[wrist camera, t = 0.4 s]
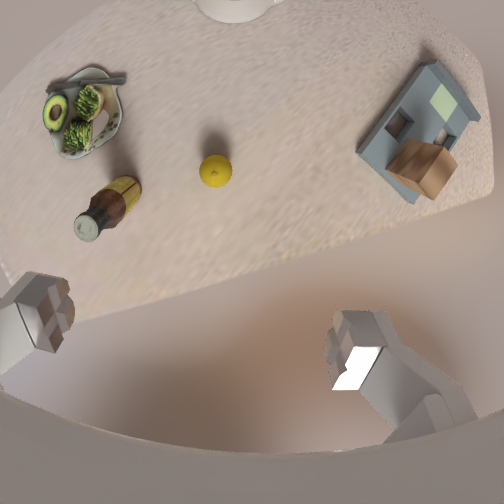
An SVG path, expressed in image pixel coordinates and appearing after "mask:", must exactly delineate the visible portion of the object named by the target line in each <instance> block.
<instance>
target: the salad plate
mask: <svg viewBox="0 0 504 504" xmlns="http://www.w3.org/2000/svg"><path fill="white" fill-rule="evenodd" d="M125 82H126V78H125V77H122V76H121V77H110V76H109V75H107V73H106V72H104V71H103V70H100V69H97V68H86V69H84V70H82V71H80V72H79V73H77V74H76V75H74V76H73V77H71V78H70V79H68V80H67V81H66V82H64V83H56V84H52V85H50V86H48V88H47V89H46V93H48V94H49V96H48V99H47V101H46V104H45V106H44V110H43V121H44V125H45V127H46V128H47V129H48V130H49V132H50V135H51V138H52V140H53V143H54V146H55V148H56V150H57V152H58V153H59V155H61V156H62V157H64V158H67V159H78V158H81V157H83V156H86V155H87V154H89V153H90V152H91V151H92V150H94V149H96V148H97V147H99V146H100V145H102V144H103V143H105V142H106V141H108V140H109V139H111V138H112V137H113V136H114V135H115V133H116V132H117V130H118V129H119V126H120V124H121V121H122V118H123V114H122V109H121V105H120V102H119V98H118V96H117V91H116V88H117V87H118V86H122V85H124V84H125ZM103 109H104V110H106V111H107V113H108V114H109V120H108V123H107V125H106V126H105V128H104V130H103V131H102V132H101V133H100V134H99V135H98V136H97V137H96V138H94V139H93V140H91V137H92V121H93V119H94V118H96V117H97V116H98V115H99V114H100V113H101V111H102V110H103ZM78 120H79V121H78Z"/></svg>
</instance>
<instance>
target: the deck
mask: <svg viewBox="0 0 504 504" xmlns="http://www.w3.org/2000/svg"><path fill="white" fill-rule="evenodd" d="M396 111H398V112H399V113H400V114H401V115H402V116H403V117H404V118H405V119H406V120H407V122H406V124H405V125H404V127H403V128H402V129H401V131H400V132H399V133H398V135H397V136H396V138H395V139H394V138H393V137H392V136H391V135H390V134H389V133H388V132H387V131H386V130H385V129H384V128H385V126H386V125H387V123H388V122H389V121H390V119H391V118H392V117H393V115H394V114H395V113H396ZM480 118H481V116H480V115H479V113H478V112H477V110H476V109H475V107H474V106H473V104H472V103H471V101H470V100H469V99H468V97H467V96H466V95H465V93H464V92H463V90H462V89H461V88H460V86H459V85H458V84H457V83H456V81H455V80H454V79H453V77H452V76H451V75H450V74H449V72H448V71H447V70H446V69H445V68H444V66H443V65H442V64H441V63H440V62H439V61H438V60H433V61H427V62H422V63H421V64H420V65H419V67H418V68H417V69H416V71H415V72H414V74H413V75H412V76H411V78H410V79H409V81H408V82H407V83H406V85H405V86H404V87H403V89H402V90H401V92H400V93H399V94H398V96H397V97H396V98H395V100H394V101H393V102H392V104H391V105H390V107H389V108H388V109H387V111H386V112H385V113H384V115H383V116H382V117H381V119H380V120H379V121H378V123H377V124H376V125H375V127H374V128H373V129H372V131H371V132H370V133H369V135H368V136H367V137H366V139H365V140H364V141H363V143H362V144H361V145H360V147H359V148H358V149H357V151H356V153H357V154H358V155H359V156H360V157H361V158H362V159H363V160H364V161H366V162H367V163H368V164H369V165H370V166H371V167H372V168H373V169H374V170H375V171H376V172H377V173H378V174H380V175H381V176H382V177H383V178H384V179H385V180H386V181H387V182H388V183H389V184H390V185H391V186H392V187H393V188H394V189H395V190H396V191H397V192H398V193H399V194H400V195H401V196H402V197H403V198H404V199H405V200H406V201H407V202H409V203H411V204H414V203H415V201H416V200H417V199H418V197H419V196H420V193H418V192H416V191H414V190H412V189H409V188H407V187H405V186H403V185H401V184H399V183H398V182H397V181H396V180H395V179H394V178H393V177H392V176H391V175H390V174H389V173H388V172H387V171H386V170H385V169H386V167H387V166H388V165H389V163H390V162H391V161H392V159H393V158H394V156H395V155H396V154H397V152H398V151H399V150H400V148H401V147H402V145H403V144H404V143H405V141H406V140H407V139H411V140H416V141H421V142H426V143H430V144H434V143H433V141H434V140H435V138H436V137H437V135H438V134H439V132H440V131H441V129H442V128H444V130H445V131H446V132H447V134H448V135H449V136H448V138H447V140H446V141H445V143H444V144H443V147H445V148H446V149H447V151H448V152H449V153H450V151H451V150H452V148H453V146H454V145H455V143H456V142H457V140H458V139H459V137H460V135H461V134H462V132H463V131H464V129H465V127H466V126H467V124H468V122H469V121H470V120H471V121H478V122H479V120H480Z"/></svg>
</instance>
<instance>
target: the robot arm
mask: <svg viewBox="0 0 504 504" xmlns="http://www.w3.org/2000/svg"><path fill="white" fill-rule="evenodd" d="M192 1H194V2H195V3H196V5H197V6H198V7H199V9H200V10H201V11H202V12H203V13H204V14H205V15H207V16H208V17H210V18H212V19H214V20H217V21H220V22H225V23H242V22H247V21H250V20H253V19H255V18H257V17H259V16H261V15H262V14H264V13H265V12H266V11H267V10H268V9H269V8H270V7H272V6H273V5H276V4H279V3H282V2H284V1H285V0H192ZM69 291H70V288H69V285H68V281H67V280H65V279H64V278H61V277H56V276H51V275H47V274H42V273H41V274H40V273H37V272H32V271H30V272H26V273H25V274H24V275H23V276H22V277H21V278H20V279H19V280H18V281H17V282H16V284H15V285H14V286H13V287H12V288H11V289H10V290H9V291H8V292H7V293H6V294H5V295H4V297H3V298H0V375H1V374H3V373H4V372H5V371H7V370H8V369H9V368H11V367H12V366H13V365H14V364H16V363H17V362H19V361H20V360H21V359H23V358H24V357H25V356H27V355H28V354H29V353H31V352H32V351H33V350H35V348H37V349H40V350H44V351H47V352H51V353H56V351H57V350H58V348H59V346H60V344H61V343H62V341H63V340H64V338H63V333H64V332H66V331H68V330H70V328H71V326H72V324H73V322H74V317H75V307H74V303H73V301H72V300H71V298H70V297H69V296H68V293H69ZM332 322H333V325H334V327H333V328H331V329H330V330H329V331H328V332H327V335H326V338H325V343H324V355H325V359H326V362H327V363H328V364H330V365H331V368H330V370H329V377H330V381H331V385H332V389H333V390H353V389H354V390H355V389H359V391H360V393H361V394H362V395H363V396H364V397H365V398H366V399H367V400H368V402H369V403H370V404H371V405H372V406H373V407H374V408H375V409H376V410H377V411H378V413H379V414H380V415H381V416H382V417H383V418H384V419H385V420H386V421H387V422H388V423H389V425H390V426H391V427H392V428H393V429H394V430H395V431H394V432H393V433H392V434H391V435H390V436H389V437H388V438H387V439H386V440H385V441H384V443H383V444H381V445H375V446H369V447H362V448H354V449H345V450H336V451H325V452H309V453H242V452H227V451H214V450H205V449H197V448H189V447H182V446H176V445H169V444H164V443H158V442H153V441H148V440H143V439H138V438H134V437H130V436H125V435H121V434H117V433H113V432H110V431H106V430H102V429H99V428H96V427H92V426H89V425H86V424H83V423H80V422H77V421H73V420H71V419H68V418H65V417H62V416H60V415H57V414H54V413H51V412H49V411H47V410H44V409H42V408H39V407H37V406H34V405H32V404H30V403H28V402H25V401H23V400H21V399H19V398H17V397H14V396H12V395H10V394H8V393H6V392H4V389H3V386H2V385H1V384H0V504H504V409H502V410H500V411H497V412H495V413H492V414H490V415H487V416H485V417H482V418H479V419H478V417H477V415H476V413H475V411H474V409H473V407H472V405H471V403H470V401H469V399H468V397H467V395H466V393H465V391H464V389H463V387H462V386H460V385H459V384H458V383H456V382H455V381H454V380H452V379H451V378H450V377H448V376H447V375H445V374H444V373H443V372H442V371H440V370H439V369H437V368H436V367H435V366H433V365H432V364H431V363H429V362H428V361H427V360H425V359H424V358H423V357H421V356H420V355H418V354H417V353H416V352H414V351H413V350H412V349H410V348H408V347H403V345H402V343H401V341H400V339H399V337H398V335H397V333H396V331H395V329H394V327H393V325H392V323H391V322H390V320H389V318H388V316H387V314H386V313H385V312H384V311H383V310H368V311H360V310H337V311H336V312H335V313H334V316H333V318H332Z"/></svg>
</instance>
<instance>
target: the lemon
mask: <svg viewBox="0 0 504 504" xmlns="http://www.w3.org/2000/svg"><path fill="white" fill-rule="evenodd" d="M199 173H200V177H201V179H202V181H203V182H204V183H205V184H206V185H208V186H210V187H216V188H217V187H221V186H223V185H225V184H226V183H227V182H228V181H229V180H230V178H231V176H232V166H231V163H230V162H229V160H228V159H227V158H225V157H224V156H221V155H211V156H209V157H207V158H206V159H205V160H204V161H203V162H202V164H201V165H200V169H199Z"/></svg>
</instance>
